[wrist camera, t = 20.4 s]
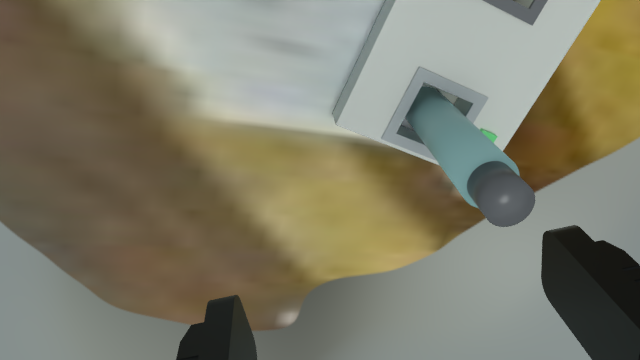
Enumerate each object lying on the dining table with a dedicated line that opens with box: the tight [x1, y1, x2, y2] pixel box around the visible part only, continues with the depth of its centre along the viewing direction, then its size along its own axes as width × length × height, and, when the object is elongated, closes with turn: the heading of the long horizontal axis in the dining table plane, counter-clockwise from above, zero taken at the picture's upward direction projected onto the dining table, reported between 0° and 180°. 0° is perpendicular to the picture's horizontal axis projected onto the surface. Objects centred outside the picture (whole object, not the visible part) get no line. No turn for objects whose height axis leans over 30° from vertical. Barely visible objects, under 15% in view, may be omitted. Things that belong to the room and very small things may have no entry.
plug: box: [405, 87, 535, 227], centre depth 38 cm, size 4×4×19 cm
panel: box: [332, 0, 601, 165], centre depth 43 cm, size 16×22×4 cm
